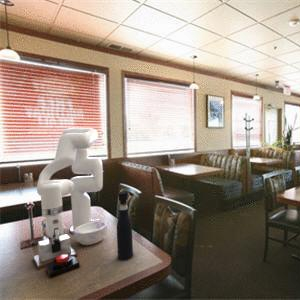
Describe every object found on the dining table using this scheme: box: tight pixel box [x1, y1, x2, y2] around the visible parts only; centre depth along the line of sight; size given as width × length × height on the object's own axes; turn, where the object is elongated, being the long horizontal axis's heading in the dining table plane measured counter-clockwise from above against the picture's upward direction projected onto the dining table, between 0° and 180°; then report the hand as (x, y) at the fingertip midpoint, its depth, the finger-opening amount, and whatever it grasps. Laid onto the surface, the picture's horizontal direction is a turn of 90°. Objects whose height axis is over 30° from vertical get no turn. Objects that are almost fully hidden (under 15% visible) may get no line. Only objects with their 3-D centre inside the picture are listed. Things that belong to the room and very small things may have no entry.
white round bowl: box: [73, 221, 108, 246], centre depth 123 cm, size 15×15×8 cm
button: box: [56, 254, 68, 263], centre depth 97 cm, size 4×4×2 cm
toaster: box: [37, 234, 72, 262], centre depth 106 cm, size 11×6×7 cm, turn 138°
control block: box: [45, 256, 80, 279], centre depth 98 cm, size 10×8×4 cm
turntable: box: [32, 247, 78, 270], centre depth 106 cm, size 14×12×2 cm
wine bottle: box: [116, 191, 134, 261], centre depth 106 cm, size 6×6×30 cm
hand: (54, 249), depth 106 cm, fingers closed on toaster, 5 cm apart
